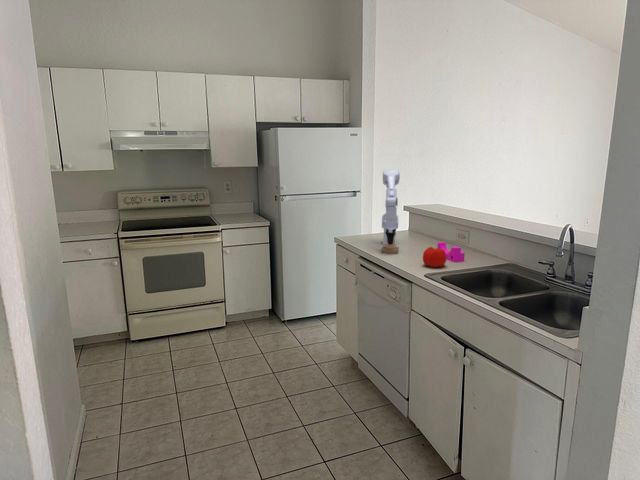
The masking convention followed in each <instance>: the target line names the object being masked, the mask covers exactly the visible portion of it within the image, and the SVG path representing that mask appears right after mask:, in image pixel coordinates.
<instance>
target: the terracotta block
mask: <svg viewBox="0 0 640 480" xmlns="http://www.w3.org/2000/svg"><path fill="white" fill-rule="evenodd" d="M385 246H386V249H395V247H396V245H395V239H393V244H392V245H389V244H388V239H387V243H386V245H385Z"/></svg>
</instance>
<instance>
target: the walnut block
mask: <svg viewBox="0 0 640 480" xmlns="http://www.w3.org/2000/svg"><path fill="white" fill-rule="evenodd" d="M399 250H400V247H399V246H395V249H386V245H382V248H381V254H383V253H388V254H387V255H399Z"/></svg>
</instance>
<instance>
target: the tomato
mask: <svg viewBox="0 0 640 480" xmlns="http://www.w3.org/2000/svg"><path fill="white" fill-rule="evenodd" d="M422 262H423V264H424V265H426V266H428V267H431V268H434V269H435V268H438V267H440V268H441V267H444V266H445V264H446V263H447V257H446V252H445V251H444V250H442V249H440V248H437V247H436V248H434V247H432V246H428V247H427V248H425V250H424V252H423V255H422Z"/></svg>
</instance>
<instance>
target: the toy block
mask: <svg viewBox="0 0 640 480" xmlns="http://www.w3.org/2000/svg"><path fill="white" fill-rule="evenodd" d="M447 247H448V246H447V242H445V241H439V242H437V247H436V248H440V249H442V250H444V251H445V252H446V257H447V259H446V261H450V262H453V263H458V262H465V253H466V252H464V251H462V247H461V246H452V247H451V249H450V250H449V249H448V248H447Z"/></svg>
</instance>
